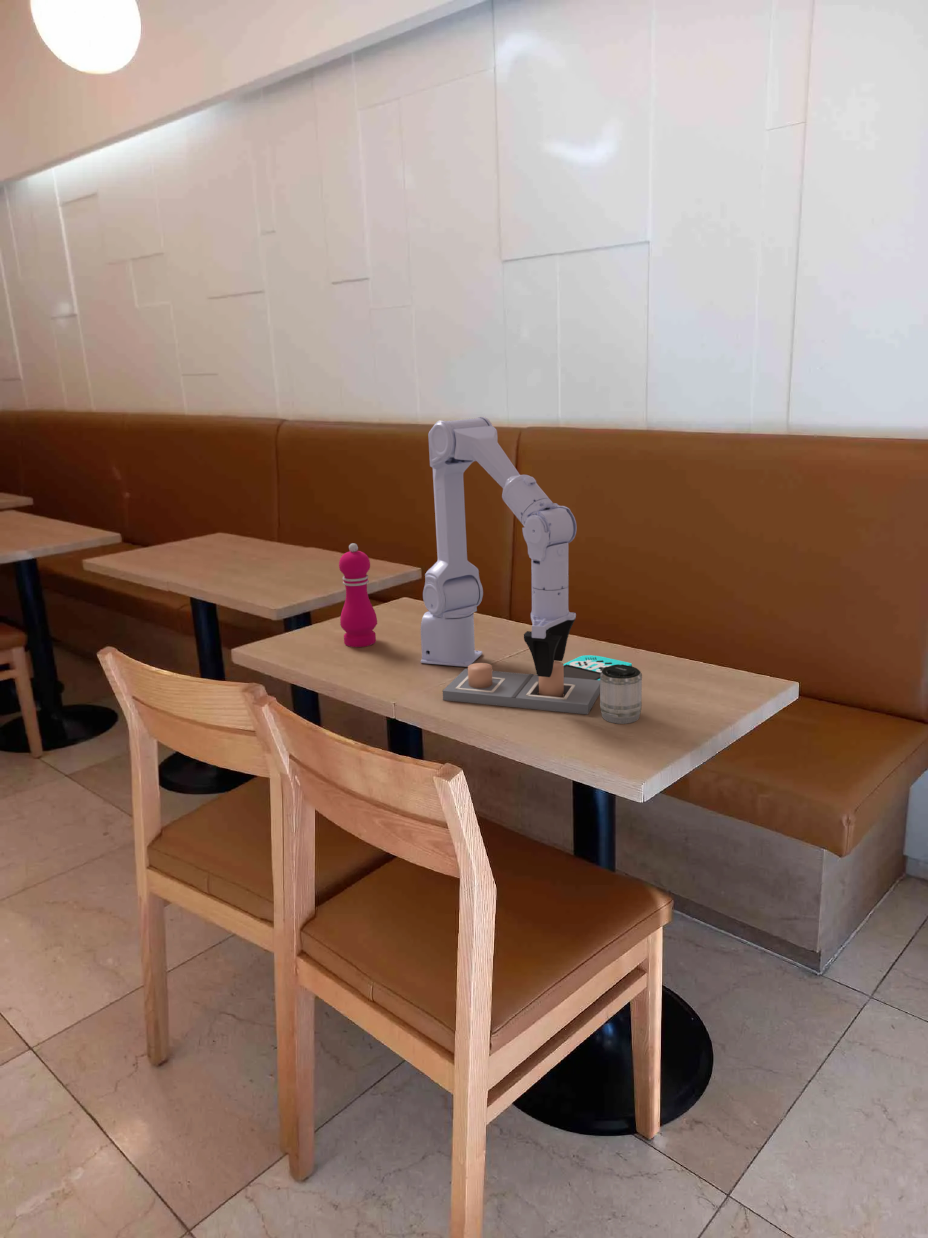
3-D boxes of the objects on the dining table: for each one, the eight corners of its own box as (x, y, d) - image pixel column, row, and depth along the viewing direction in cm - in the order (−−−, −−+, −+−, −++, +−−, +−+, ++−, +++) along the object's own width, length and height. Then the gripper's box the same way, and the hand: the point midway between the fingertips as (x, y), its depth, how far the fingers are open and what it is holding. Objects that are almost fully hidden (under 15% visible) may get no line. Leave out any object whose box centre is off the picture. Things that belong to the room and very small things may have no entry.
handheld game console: (633, 669, 160) (634, 662, 160) (582, 696, 149) (582, 689, 148) (586, 658, 166) (586, 651, 166) (533, 684, 155) (533, 676, 155)
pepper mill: (358, 634, 184) (351, 538, 178) (386, 640, 180) (379, 541, 174) (334, 644, 178) (326, 545, 173) (361, 650, 174) (354, 548, 168)
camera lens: (613, 706, 143) (613, 659, 141) (648, 714, 139) (649, 666, 137) (592, 718, 138) (592, 670, 136) (628, 728, 135) (629, 678, 132)
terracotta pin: (536, 703, 145) (535, 668, 144) (542, 694, 149) (542, 660, 147) (560, 705, 144) (560, 670, 142) (566, 696, 147) (566, 661, 146)
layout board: (443, 700, 148) (441, 673, 147) (465, 677, 158) (464, 652, 157) (587, 714, 140) (587, 686, 139) (601, 689, 150) (602, 663, 149)
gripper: (563, 599, 133) (564, 686, 137) (585, 575, 146) (584, 655, 150) (517, 596, 135) (519, 681, 139) (543, 573, 148) (543, 651, 152)
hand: (550, 667), depth 145 cm, fingers open, 7 cm apart
